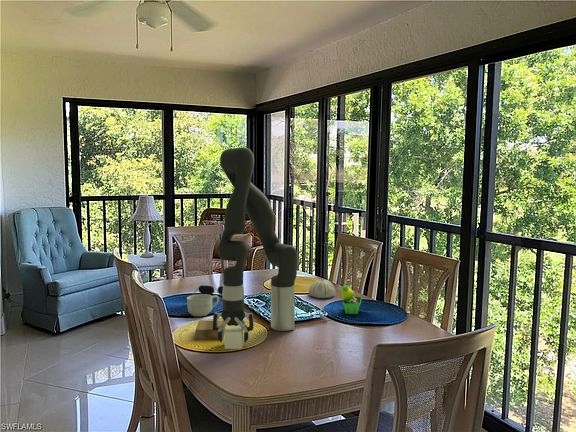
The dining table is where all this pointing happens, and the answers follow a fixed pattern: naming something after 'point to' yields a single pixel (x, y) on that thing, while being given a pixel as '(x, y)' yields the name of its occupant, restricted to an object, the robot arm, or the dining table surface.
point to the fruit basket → (350, 301)
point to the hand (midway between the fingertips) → (233, 341)
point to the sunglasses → (209, 289)
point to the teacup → (201, 304)
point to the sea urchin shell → (322, 289)
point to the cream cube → (233, 337)
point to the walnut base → (207, 330)
